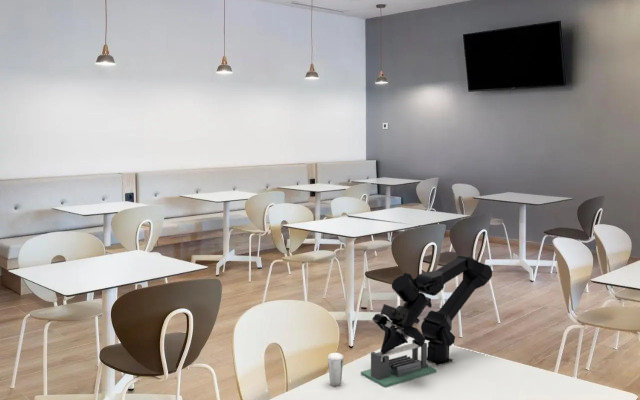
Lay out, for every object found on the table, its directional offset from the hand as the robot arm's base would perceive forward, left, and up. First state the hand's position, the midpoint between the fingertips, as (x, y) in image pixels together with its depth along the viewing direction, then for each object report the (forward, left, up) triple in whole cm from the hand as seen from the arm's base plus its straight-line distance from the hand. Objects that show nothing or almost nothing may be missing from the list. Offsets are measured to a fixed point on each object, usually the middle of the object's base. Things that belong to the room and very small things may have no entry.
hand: (382, 352), depth 180 cm
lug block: (+1, 0, -8) cm, 8 cm away
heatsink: (-8, 0, -8) cm, 11 cm away
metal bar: (-7, 0, -2) cm, 7 cm away
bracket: (-15, 0, -8) cm, 17 cm away
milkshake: (+13, -4, -8) cm, 16 cm away
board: (-7, 0, -8) cm, 10 cm away
